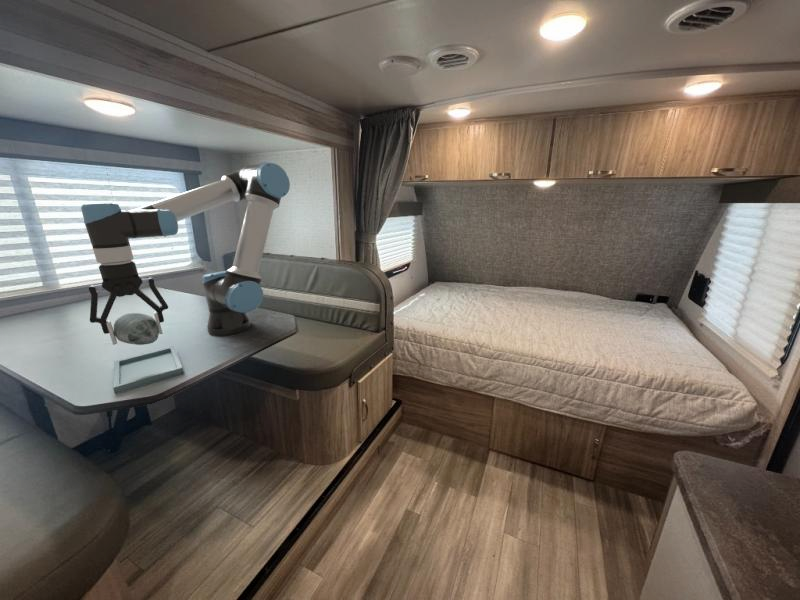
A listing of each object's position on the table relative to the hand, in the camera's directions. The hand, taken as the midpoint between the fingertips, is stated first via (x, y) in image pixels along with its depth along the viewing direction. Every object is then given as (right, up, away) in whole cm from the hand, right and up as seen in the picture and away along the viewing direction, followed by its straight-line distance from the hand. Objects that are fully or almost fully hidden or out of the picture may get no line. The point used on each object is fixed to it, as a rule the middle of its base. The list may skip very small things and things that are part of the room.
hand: (138, 337), depth 91 cm
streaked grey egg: (0, -1, 0) cm, 1 cm away
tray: (0, -10, +3) cm, 11 cm away
